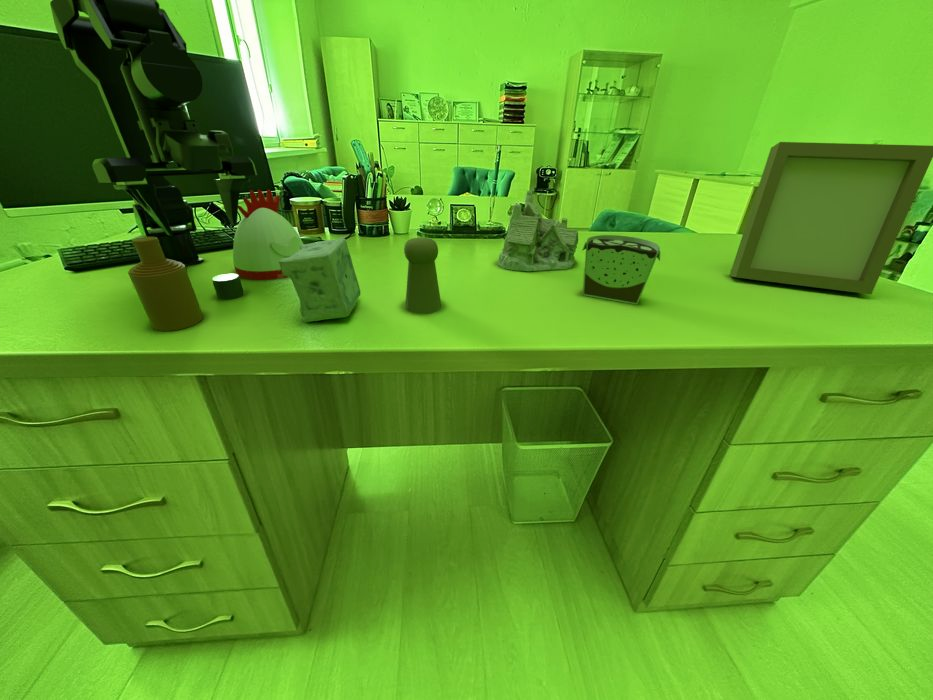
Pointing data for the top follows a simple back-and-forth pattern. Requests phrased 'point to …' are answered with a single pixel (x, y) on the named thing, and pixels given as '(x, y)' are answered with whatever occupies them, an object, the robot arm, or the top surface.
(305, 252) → the incense holder
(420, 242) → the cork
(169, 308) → the bottle
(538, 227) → the ceramic cottage
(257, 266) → the kitchen timer
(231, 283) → the cap
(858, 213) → the photo frame
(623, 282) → the food container
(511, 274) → the top surface
